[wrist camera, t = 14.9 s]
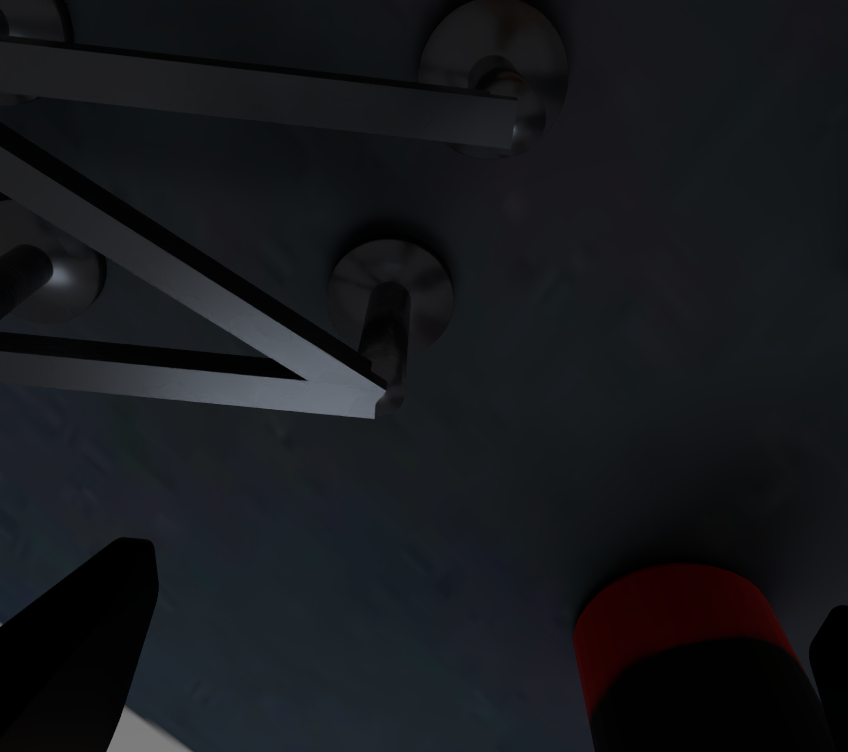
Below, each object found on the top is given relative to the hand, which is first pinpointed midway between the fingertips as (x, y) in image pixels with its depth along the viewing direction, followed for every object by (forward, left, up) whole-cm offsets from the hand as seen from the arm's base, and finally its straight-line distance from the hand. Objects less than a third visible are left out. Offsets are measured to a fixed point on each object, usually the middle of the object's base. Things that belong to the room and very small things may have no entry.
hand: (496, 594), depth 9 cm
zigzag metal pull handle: (+6, -2, -12) cm, 14 cm away
